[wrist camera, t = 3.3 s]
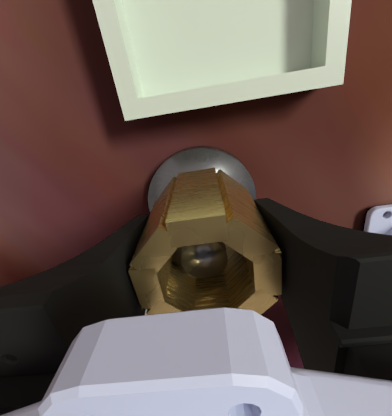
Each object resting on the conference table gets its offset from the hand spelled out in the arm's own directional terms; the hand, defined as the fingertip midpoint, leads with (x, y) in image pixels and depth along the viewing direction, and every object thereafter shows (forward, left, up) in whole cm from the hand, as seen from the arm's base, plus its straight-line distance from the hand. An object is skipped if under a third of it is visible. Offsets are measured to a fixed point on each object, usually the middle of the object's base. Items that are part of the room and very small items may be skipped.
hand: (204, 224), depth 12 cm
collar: (0, 0, -1) cm, 1 cm away
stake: (0, 0, -3) cm, 3 cm away
